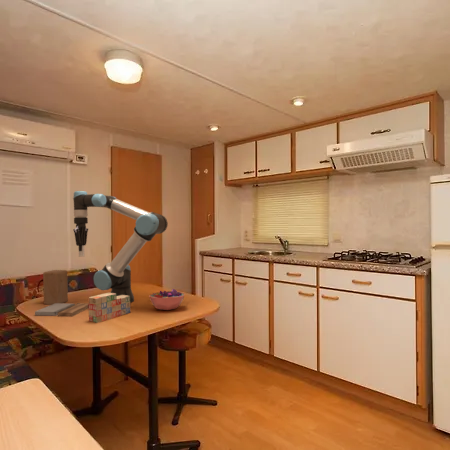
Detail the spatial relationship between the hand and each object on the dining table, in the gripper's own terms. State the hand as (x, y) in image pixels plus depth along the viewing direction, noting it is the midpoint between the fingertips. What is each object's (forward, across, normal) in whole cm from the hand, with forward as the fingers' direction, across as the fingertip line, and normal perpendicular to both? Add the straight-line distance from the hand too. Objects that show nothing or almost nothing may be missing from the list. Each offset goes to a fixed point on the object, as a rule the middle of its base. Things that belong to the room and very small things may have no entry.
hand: (81, 256), depth 196 cm
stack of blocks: (+30, +23, +28) cm, 47 cm away
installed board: (+29, +14, +3) cm, 33 cm away
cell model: (+30, +7, +54) cm, 62 cm away
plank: (+29, +14, -8) cm, 33 cm away
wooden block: (+30, -5, -20) cm, 36 cm away
